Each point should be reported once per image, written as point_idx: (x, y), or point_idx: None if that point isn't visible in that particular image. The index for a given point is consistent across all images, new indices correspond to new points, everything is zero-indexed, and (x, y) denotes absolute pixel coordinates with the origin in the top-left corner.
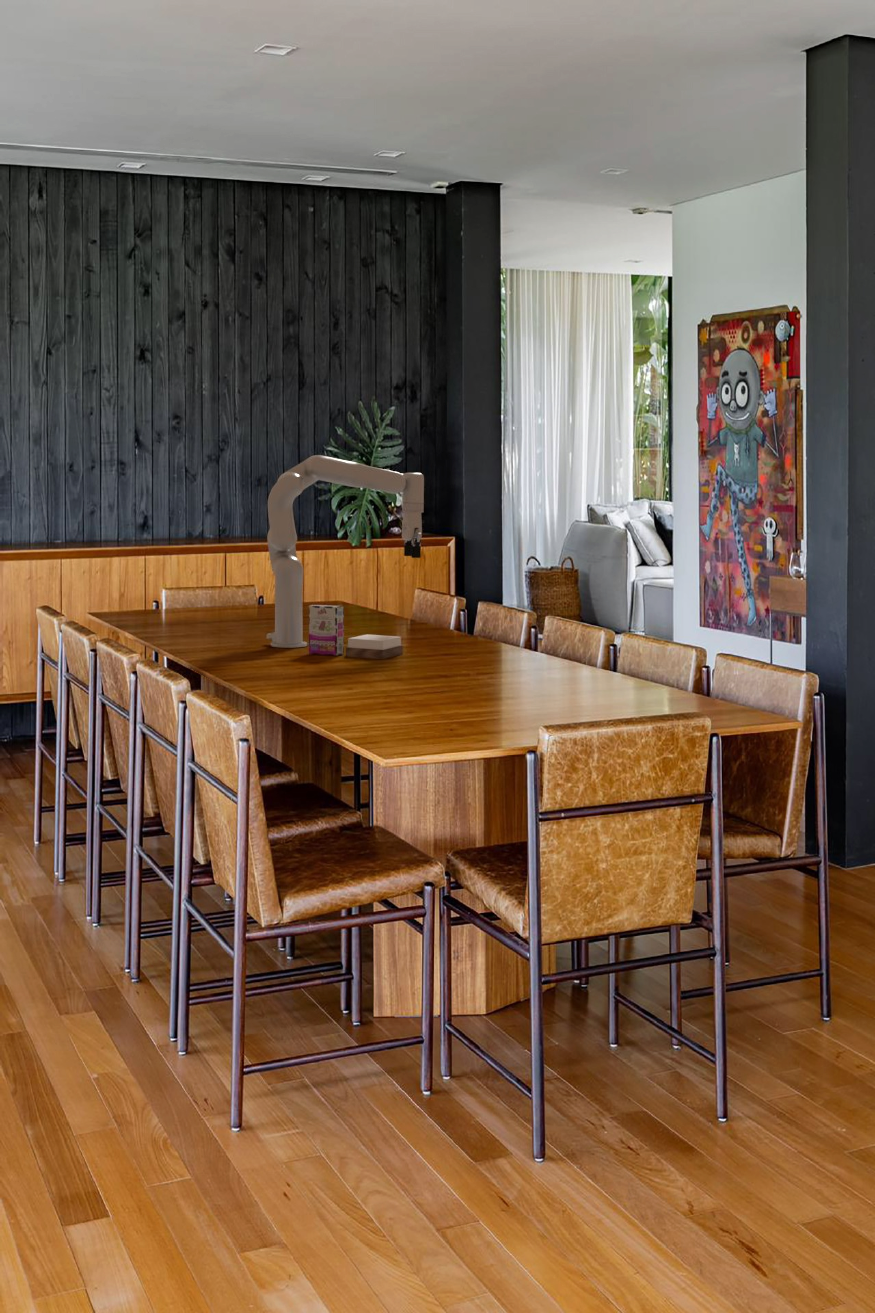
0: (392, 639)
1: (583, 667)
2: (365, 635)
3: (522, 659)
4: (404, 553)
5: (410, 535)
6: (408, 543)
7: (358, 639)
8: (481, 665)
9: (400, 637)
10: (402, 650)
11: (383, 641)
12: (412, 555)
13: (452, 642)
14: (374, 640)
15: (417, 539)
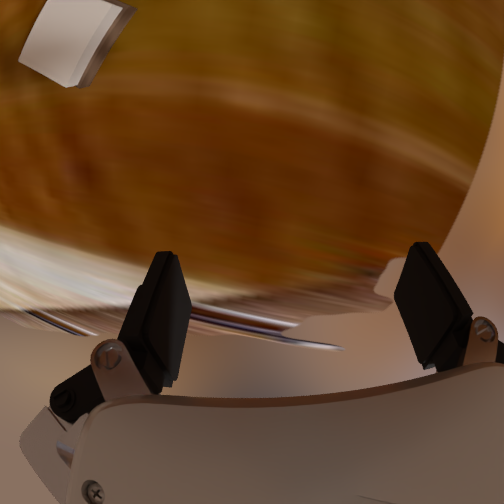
0: (41, 73)
1: (34, 300)
2: (92, 6)
3: (63, 267)
4: (425, 252)
5: (74, 457)
6: (448, 354)
7: (43, 8)
8: (8, 207)
9: (64, 86)
10: (85, 86)
11: (20, 61)
12: (155, 266)
13: (276, 217)
14: (25, 43)
15: (47, 408)
